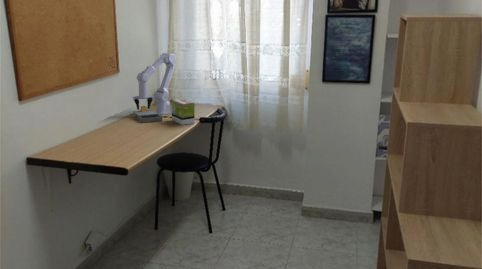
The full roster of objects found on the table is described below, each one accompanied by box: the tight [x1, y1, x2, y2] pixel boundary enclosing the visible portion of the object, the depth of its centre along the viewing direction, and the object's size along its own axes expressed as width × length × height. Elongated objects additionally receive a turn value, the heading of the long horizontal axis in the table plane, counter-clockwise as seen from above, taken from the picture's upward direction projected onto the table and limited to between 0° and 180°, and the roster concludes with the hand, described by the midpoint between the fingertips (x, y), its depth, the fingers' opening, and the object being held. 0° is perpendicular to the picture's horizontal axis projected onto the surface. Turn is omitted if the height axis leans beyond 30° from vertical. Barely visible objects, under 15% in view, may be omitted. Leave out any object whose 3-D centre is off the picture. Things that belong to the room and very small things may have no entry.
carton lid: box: [133, 105, 158, 116], centre depth 315 cm, size 14×12×4 cm
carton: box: [136, 114, 163, 124], centre depth 309 cm, size 14×12×3 cm
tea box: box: [171, 98, 195, 126], centre depth 306 cm, size 15×10×15 cm, turn 37°
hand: (143, 109), depth 319 cm, fingers open, 7 cm apart
